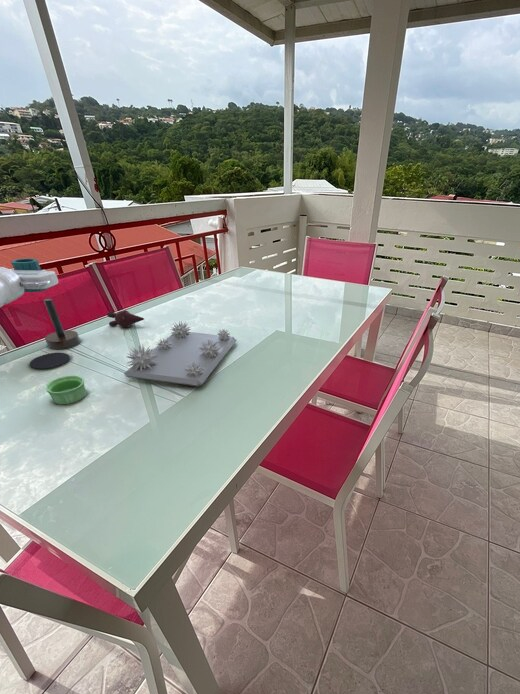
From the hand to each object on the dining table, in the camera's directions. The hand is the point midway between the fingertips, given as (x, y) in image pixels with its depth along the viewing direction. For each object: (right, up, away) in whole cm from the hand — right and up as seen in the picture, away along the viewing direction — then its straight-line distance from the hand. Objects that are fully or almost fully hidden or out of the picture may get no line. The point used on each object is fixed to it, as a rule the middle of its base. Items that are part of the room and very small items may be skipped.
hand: (30, 272), depth 101 cm
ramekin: (+18, -39, -8) cm, 43 cm away
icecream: (+12, -10, +34) cm, 37 cm away
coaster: (+1, -27, +7) cm, 28 cm away
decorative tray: (+43, -26, +13) cm, 52 cm away
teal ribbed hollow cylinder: (0, -5, +2) cm, 5 cm away
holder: (-3, -19, +18) cm, 27 cm away
